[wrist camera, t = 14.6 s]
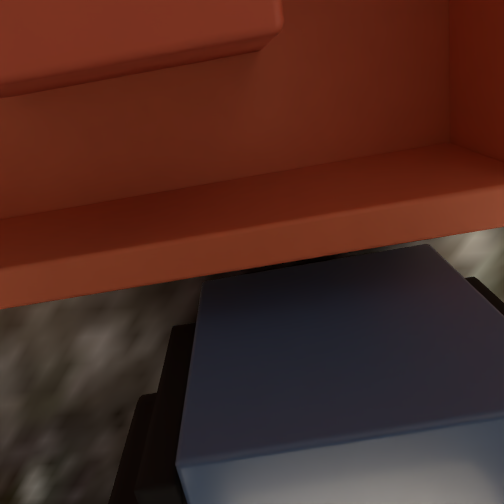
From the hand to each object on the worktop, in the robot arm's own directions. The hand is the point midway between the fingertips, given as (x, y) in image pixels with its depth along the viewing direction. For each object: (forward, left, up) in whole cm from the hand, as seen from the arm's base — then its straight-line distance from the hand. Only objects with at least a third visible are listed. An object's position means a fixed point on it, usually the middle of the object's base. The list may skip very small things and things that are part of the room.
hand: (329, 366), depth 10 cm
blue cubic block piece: (0, 0, 0) cm, 0 cm away
